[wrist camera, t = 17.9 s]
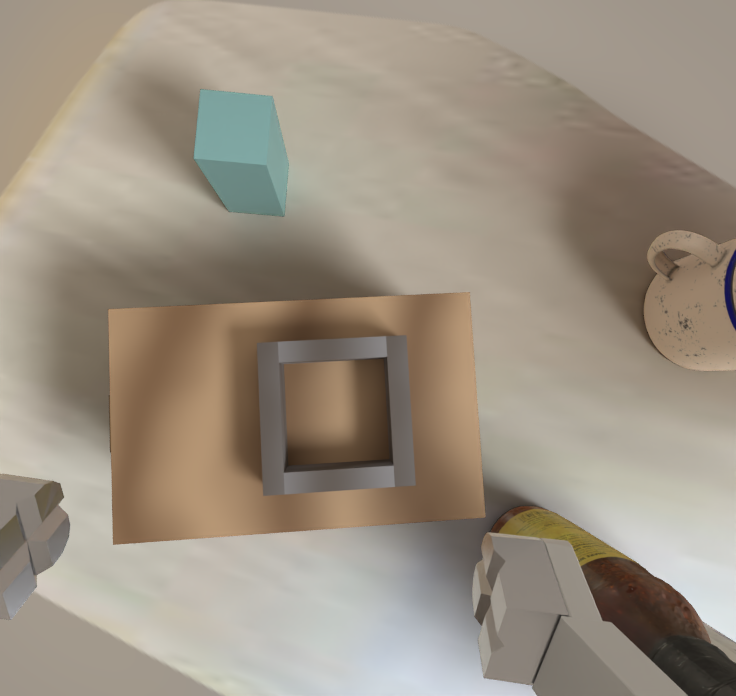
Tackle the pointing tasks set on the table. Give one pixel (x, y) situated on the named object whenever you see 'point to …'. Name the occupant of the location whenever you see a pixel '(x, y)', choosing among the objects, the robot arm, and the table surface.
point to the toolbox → (292, 416)
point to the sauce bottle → (636, 605)
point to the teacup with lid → (693, 301)
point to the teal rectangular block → (242, 151)
